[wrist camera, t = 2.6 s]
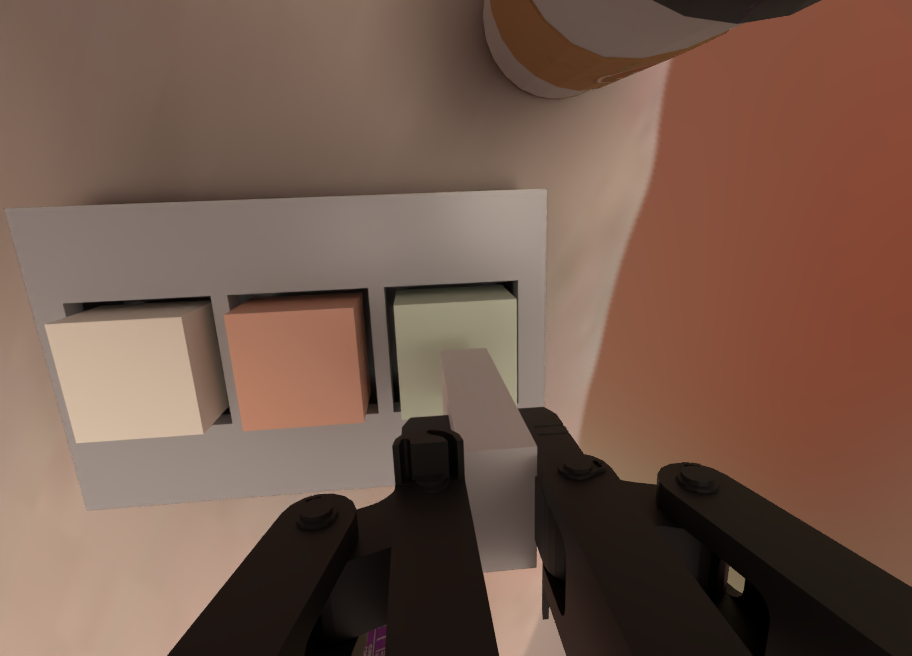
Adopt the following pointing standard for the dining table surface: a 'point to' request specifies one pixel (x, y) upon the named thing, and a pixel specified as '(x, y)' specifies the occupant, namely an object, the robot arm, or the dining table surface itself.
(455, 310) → the key sage
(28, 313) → the dining table surface
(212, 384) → the key cream
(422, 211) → the keypad
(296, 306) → the key terracotta
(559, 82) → the coffee cup
